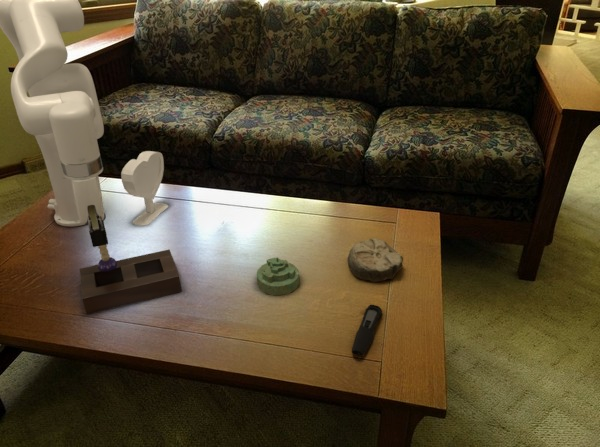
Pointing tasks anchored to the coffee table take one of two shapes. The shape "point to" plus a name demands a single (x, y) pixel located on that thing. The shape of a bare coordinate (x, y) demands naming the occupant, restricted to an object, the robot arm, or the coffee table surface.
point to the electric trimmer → (366, 330)
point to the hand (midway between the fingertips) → (99, 240)
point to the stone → (374, 260)
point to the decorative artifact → (277, 277)
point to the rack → (129, 281)
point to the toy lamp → (105, 256)
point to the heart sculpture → (145, 183)
